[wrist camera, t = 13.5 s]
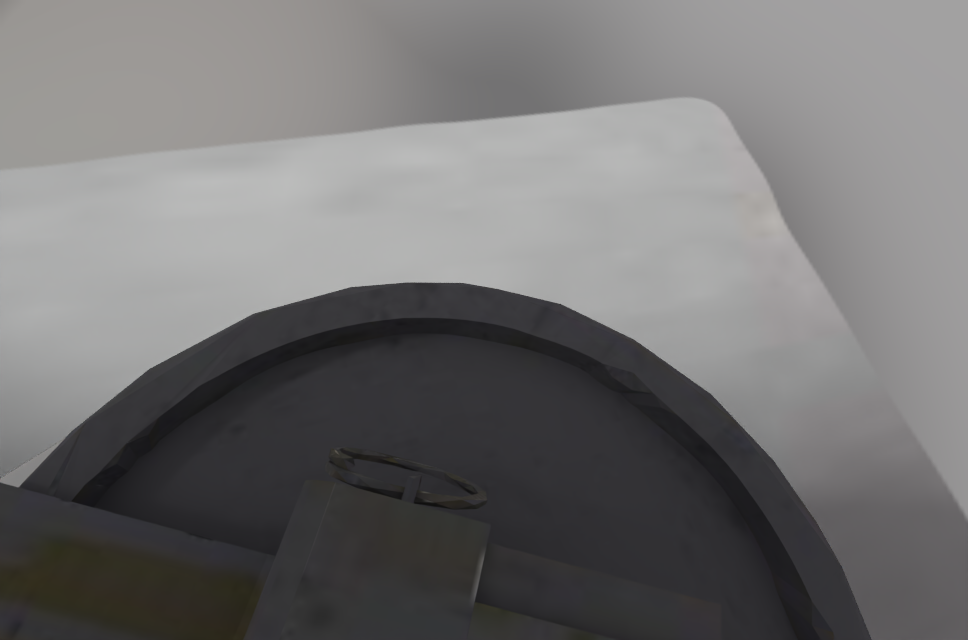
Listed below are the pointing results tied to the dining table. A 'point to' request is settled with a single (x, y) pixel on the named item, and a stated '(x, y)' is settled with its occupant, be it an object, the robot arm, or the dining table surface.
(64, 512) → the canister
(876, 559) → the dining table surface
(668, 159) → the dining table surface
